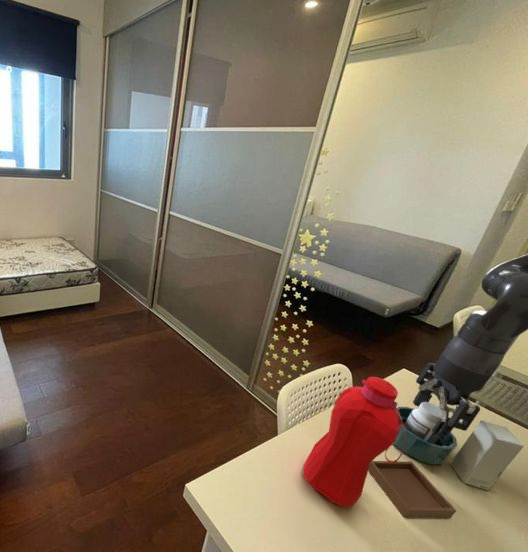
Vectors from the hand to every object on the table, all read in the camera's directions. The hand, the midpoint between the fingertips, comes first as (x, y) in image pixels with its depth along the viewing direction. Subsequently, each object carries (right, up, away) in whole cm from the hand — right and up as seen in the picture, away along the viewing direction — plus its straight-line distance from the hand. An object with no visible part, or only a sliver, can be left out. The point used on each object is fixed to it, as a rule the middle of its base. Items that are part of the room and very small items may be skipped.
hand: (427, 419), depth 71 cm
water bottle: (-26, -9, -8) cm, 29 cm away
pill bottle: (-1, -7, +3) cm, 7 cm away
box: (+5, -11, -3) cm, 12 cm away
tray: (-12, -11, -8) cm, 18 cm away
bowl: (-1, -7, +3) cm, 8 cm away
